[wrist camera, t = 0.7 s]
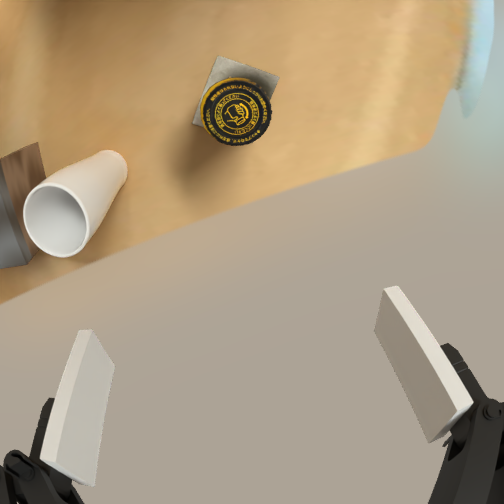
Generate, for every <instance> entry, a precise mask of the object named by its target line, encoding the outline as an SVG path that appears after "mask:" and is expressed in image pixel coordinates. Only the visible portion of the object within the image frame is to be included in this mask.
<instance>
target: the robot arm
mask: <svg viewBox="0 0 504 504" xmlns="http://www.w3.org/2000/svg"><path fill="white" fill-rule="evenodd" d="M374 332H375V334H376V336H377V338H378V339H379V341H380V343H381V345H382V347H383V349H384V351H385V353H386V355H387V357H388V359H389V361H390V363H391V365H392V367H393V368H394V371H395V372H396V375H397V376H398V379H399V381H400V383H401V385H402V387H403V389H404V391H405V393H406V395H407V397H408V399H409V401H410V403H411V405H412V408H413V410H414V412H415V414H416V416H417V418H418V421H419V423H420V425H421V427H422V430H423V432H424V434H425V436H426V439H427V441H428V443H431V442H433V441H435V440H437V439H439V438H441V437H443V436H444V435H445V434H446V433H447V432H448V431H449V430H450V432H451V433H452V435H451V436H450V437H449V438H448V439H447V441H445V442H444V444H443V447H445V446H446V445H447V444H448V443H449V444H448V448H447V451H446V454H445V458H444V461H443V464H442V467H441V470H440V473H439V476H438V478H437V482H436V484H435V487H434V489H433V492H432V495H431V498H430V500H429V502H428V504H504V402H502V403H499V402H498V401H496V400H494V399H489V398H488V397H487V396H486V395H485V393H484V392H483V390H482V389H481V387H480V385H479V384H478V382H477V380H476V379H475V377H474V375H473V374H472V372H471V370H470V369H468V366H467V364H466V363H465V362H464V361H463V358H462V356H461V355H460V353H459V352H458V350H456V349H455V348H454V347H452V346H451V345H450V344H449V343H447V344H444V345H441V346H439V344H438V343H437V341H436V340H435V338H434V337H433V335H432V334H431V332H430V331H429V329H428V328H427V326H426V325H425V323H424V322H423V320H422V319H421V317H420V316H419V315H418V313H417V312H416V311H415V309H414V307H413V306H412V305H411V303H410V302H409V301H408V299H407V298H406V296H405V295H404V293H403V292H402V291H401V289H400V288H399V287H398V286H393V287H389V288H384V289H383V293H382V298H381V303H380V307H379V312H378V316H377V321H376V325H375V329H374ZM114 370H115V366H114V364H113V362H112V361H111V359H110V358H109V356H108V355H107V353H106V351H105V350H104V348H103V346H102V345H101V343H100V341H99V340H98V338H97V336H96V334H95V333H94V331H93V329H86V330H79V332H78V334H77V337H76V339H75V342H74V344H73V347H72V350H71V352H70V355H69V358H68V361H67V364H66V367H65V369H64V373H63V375H62V378H61V381H60V385H59V388H58V391H57V394H56V397H55V398H49V399H48V401H47V402H46V403H45V405H44V406H43V408H42V411H41V415H40V419H39V422H38V427H37V429H36V433H35V436H34V440H33V444H32V448H31V453H30V456H29V457H27V456H26V455H25V454H23V453H22V452H20V451H19V450H12V451H10V452H9V453H8V454H7V455H6V457H5V459H4V464H3V466H4V467H2V466H1V465H0V504H17V502H18V503H19V504H84V503H83V501H82V499H81V498H80V496H79V494H78V493H77V491H76V489H75V488H74V487H73V485H71V483H72V480H73V481H75V482H77V483H79V484H82V485H87V486H92V487H95V480H96V472H97V463H98V456H99V449H100V442H101V436H102V430H103V424H104V419H105V414H106V408H107V403H108V398H109V393H110V388H111V384H112V378H113V375H114Z"/></svg>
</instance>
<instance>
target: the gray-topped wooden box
mask: <svg viewBox="0 0 504 504" xmlns="http://www.w3.org/2000/svg"><path fill="white" fill-rule="evenodd" d="M45 179H46V176H45V172H44V168H43V164H42V160H41V155H40V151H39V146H38V142H37V143H34V144H31V145H29V146H26V147H24V148H22V149H20V150H17V151H15V152H13V153H11V154H9V155H7V156H5V157H3V158H1V159H0V269H2V268H8V267H15V266H21V265H27V264H28V262H29V261H30V260H31V259H32V257H33V256H34V255H35V254H36V253H37V251H38V250H39V249H40V248H39V247H38V246H37V245H36V244H35V243H34V242H33V241H32V239H31V238H30V236H29V234H28V232H27V230H26V227H25V224H24V219H23V208H24V204H25V200H26V198H27V196H28V194H29V193H30V192H31V191H32V190H33V189H34V188H35V187H36V186H37V185H38V184H40V183H41V182H42V181H43V180H45Z"/></svg>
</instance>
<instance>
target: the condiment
mask: <svg viewBox="0 0 504 504" xmlns="http://www.w3.org/2000/svg"><path fill="white" fill-rule="evenodd" d="M230 76H231V78H229V77H230ZM279 78H280V77H278V76H275V75H273V74H270V73H267V72H265V71H262V70H259V69H256V68H254V67H251V66H248V65H245V64H242V63H239V62H236V61H233V60H230V59H227V58H224V57H221V56H217V59H216V61H215V64H214V66H213V69H212V71H211V74H210V76H209V79H208V81H207V84H206V86H205V89H204V92H203V94H202V97H201V100H200V103H199V105H198V108H197V111H196V114H195V116H194V119H193V122H192V124H195V125H198V126H201V127H205V129H206V130H207V132H208V133H209V134H210V135H211V136H212V137H213V138H215V139H216V140H217V141H219V142H221V143H224V144H226V145H231V146H239V145H240V146H241V145H245V144H249V143H253V142H254V141H256V140H257V139H258V138H260V137H261V136H262V135H263V134H264V132H265V131H266V130H267V128H268V126H269V124H270V120H271V114H272V110H271V104H270V99H271V97H272V94H273V92H274V89H275V87H276V85H277V82H278V80H279Z"/></svg>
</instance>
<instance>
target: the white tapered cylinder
mask: <svg viewBox="0 0 504 504" xmlns="http://www.w3.org/2000/svg"><path fill="white" fill-rule="evenodd" d="M127 175H128V168H127V164H126V161H125V160H124V158H123V157H122V156H121V155H120V154H119V153H117V152H115V151H113V150H102V151H99V152H97V153H96V154H94V155H92V156H90V157H87V158H85V159H83V160H80V161H78V162H76V163H73V164H71V165H69V166H66V167H64V168H62V169H60V170H58V171H57V172H55V173H53V174H52V175H50V176H49V177H47V178H46V179H45V180H43V181H42V182H41V183H40V184H38V185H37V186H36V187H35V188H34V189H33V190H32V191H31V192H30V193H29V194H28V196H27V198H26V200H25V204H24V208H23V219H24V224H25V227H26V230H27V232H28V234H29V236H30V238H31V239H32V241H33V242H34V243H35V244H36V245H37V246H38V247H39V248H40V249H41V250H42V251H44V252H46V253H47V254H49V255H52V256H55V257H70V256H73V255H75V254H77V253H78V252H80V251H81V250H82V249H83V248H84V246H85V245H86V244H87V242H88V241H89V240H90V239H91V237H92V236H93V235H94V233H95V232H96V231H97V229H98V228H99V226H100V224H101V223H102V221H103V219H104V217H105V215H106V214H107V212H108V210H109V208H110V206H111V204H112V202H113V200H114V199H115V197H116V195H117V193H118V191H119V190H120V188H121V187H122V186H123V185H124V183H125V181H126V179H127Z"/></svg>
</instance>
